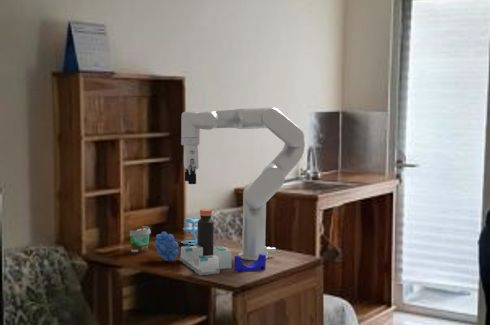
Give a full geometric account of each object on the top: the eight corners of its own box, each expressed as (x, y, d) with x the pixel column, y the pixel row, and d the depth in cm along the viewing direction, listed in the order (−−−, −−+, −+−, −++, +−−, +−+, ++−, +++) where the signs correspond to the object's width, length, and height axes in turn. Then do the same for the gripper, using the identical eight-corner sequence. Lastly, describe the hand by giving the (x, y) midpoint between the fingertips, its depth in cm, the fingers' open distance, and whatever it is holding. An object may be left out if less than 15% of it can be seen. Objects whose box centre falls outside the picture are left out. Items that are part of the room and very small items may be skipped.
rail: (198, 259, 296) (198, 244, 295) (219, 273, 274) (219, 257, 273) (180, 260, 293) (180, 246, 292) (199, 275, 271) (199, 259, 270)
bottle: (216, 258, 299) (216, 210, 297) (201, 259, 296) (201, 211, 294) (209, 254, 305) (210, 208, 303) (194, 256, 302) (195, 209, 300)
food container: (142, 255, 301) (142, 231, 300) (129, 254, 303) (129, 230, 302) (155, 249, 313) (155, 226, 312) (142, 248, 315) (142, 225, 314)
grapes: (148, 261, 291) (148, 232, 290) (157, 258, 297) (157, 229, 296) (173, 264, 286) (173, 235, 284) (181, 261, 292) (182, 232, 290)
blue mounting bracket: (260, 267, 285) (260, 252, 284) (265, 270, 281) (265, 255, 280) (232, 270, 280) (233, 255, 280) (237, 272, 276) (237, 257, 275)
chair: (205, 243, 327) (206, 217, 326) (192, 246, 321) (193, 219, 320) (193, 240, 332) (194, 215, 331) (180, 243, 326) (181, 217, 325)
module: (224, 264, 289) (225, 245, 288) (231, 268, 283) (231, 249, 282) (213, 264, 287) (213, 246, 286) (219, 269, 281) (219, 250, 280)
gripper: (203, 143, 289) (202, 185, 291) (196, 140, 306) (195, 179, 307) (184, 143, 287) (184, 185, 289) (178, 140, 304) (178, 180, 306)
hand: (190, 182), depth 298 cm, fingers open, 9 cm apart
